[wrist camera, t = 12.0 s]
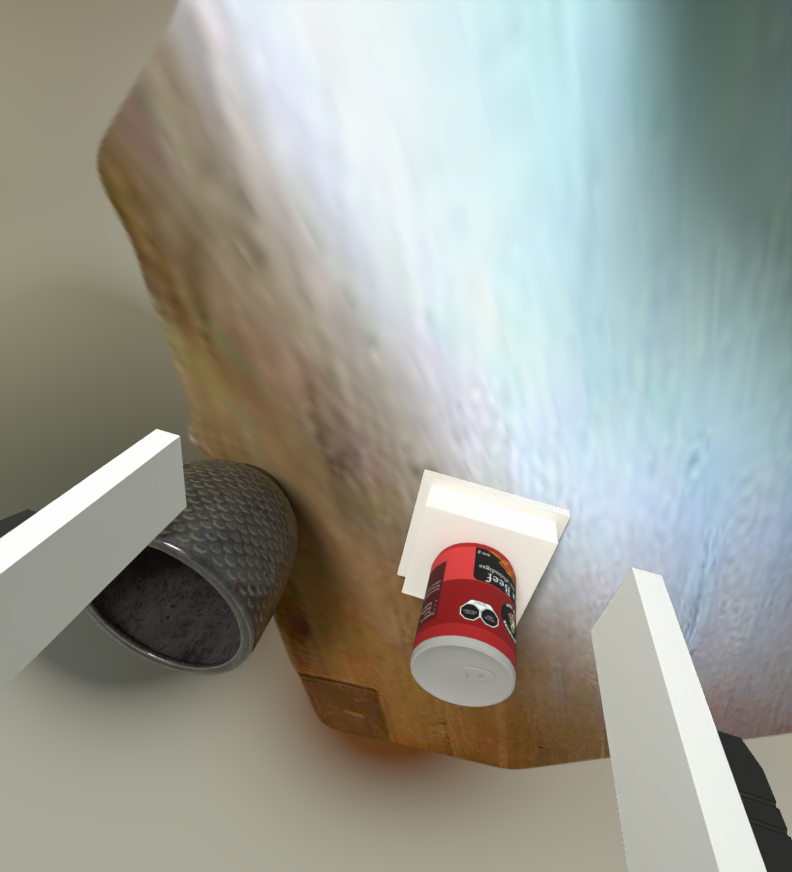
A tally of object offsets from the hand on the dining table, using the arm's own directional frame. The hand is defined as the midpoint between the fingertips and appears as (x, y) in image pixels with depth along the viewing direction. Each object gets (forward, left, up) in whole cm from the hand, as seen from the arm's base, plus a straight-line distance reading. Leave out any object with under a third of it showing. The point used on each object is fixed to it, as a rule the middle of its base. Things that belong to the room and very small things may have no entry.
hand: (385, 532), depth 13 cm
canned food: (+23, +7, -23) cm, 33 cm away
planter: (+26, -18, -27) cm, 41 cm away
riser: (+23, +7, -27) cm, 36 cm away
